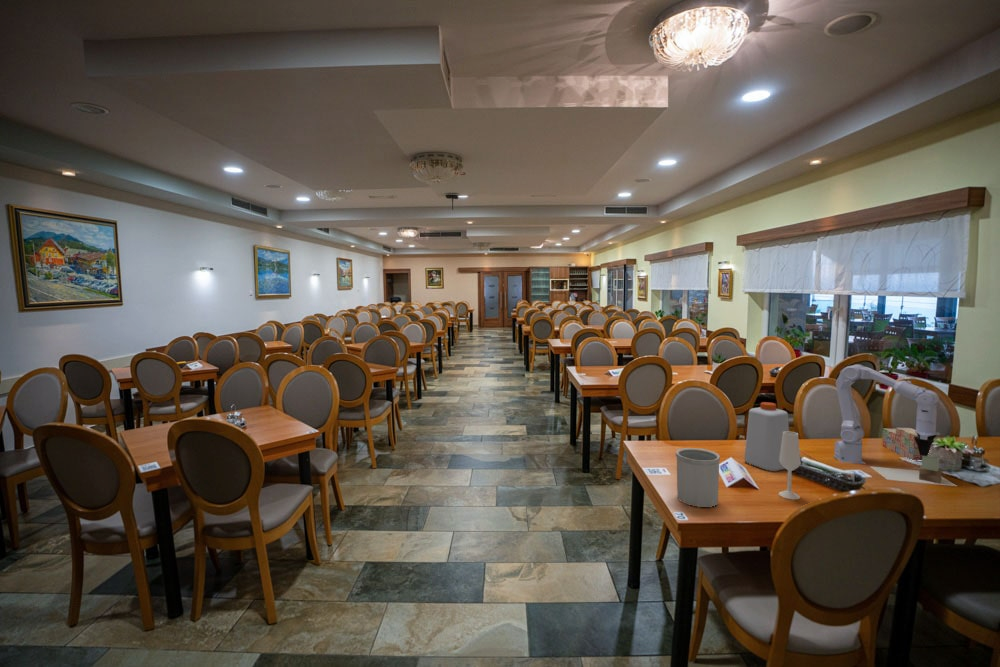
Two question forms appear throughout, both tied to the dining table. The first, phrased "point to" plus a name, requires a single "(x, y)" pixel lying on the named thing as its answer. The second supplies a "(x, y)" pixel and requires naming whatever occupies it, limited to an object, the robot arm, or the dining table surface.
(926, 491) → the dining table surface
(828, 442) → the dining table surface
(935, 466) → the green block
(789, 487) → the champagne flute
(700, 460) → the utensil holder
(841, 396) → the robot arm
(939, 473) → the walnut base block
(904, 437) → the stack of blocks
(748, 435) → the plastic bottle
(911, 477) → the white flat sheet
